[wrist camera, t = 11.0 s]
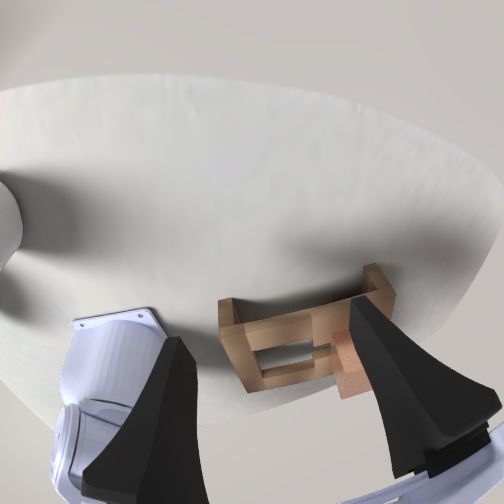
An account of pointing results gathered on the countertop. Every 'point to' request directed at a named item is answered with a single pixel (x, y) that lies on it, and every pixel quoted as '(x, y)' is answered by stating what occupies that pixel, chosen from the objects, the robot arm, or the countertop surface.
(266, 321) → the keyhole plate
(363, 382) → the peg
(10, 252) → the can
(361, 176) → the countertop surface
